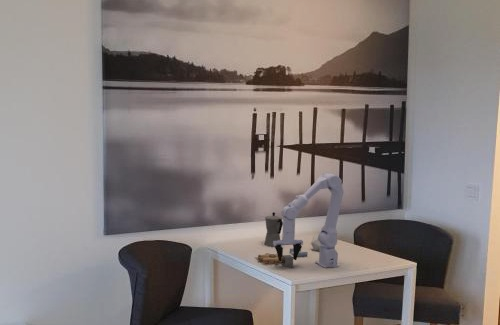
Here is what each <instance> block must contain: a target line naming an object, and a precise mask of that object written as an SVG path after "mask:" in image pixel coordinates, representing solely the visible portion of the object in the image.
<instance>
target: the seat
mask: <svg viewBox="0 0 500 325" xmlns="http://www.w3.org/2000/svg"><path fill="white" fill-rule="evenodd" d="M290 254H291V256H293V254H294V249H293V247H292V248H289V255H290ZM308 255H309V254H308V252H307V251H302V248H301V249H300V251H299V253H298V256H297V258H307V257H308Z"/></svg>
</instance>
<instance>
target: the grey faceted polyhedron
mask: <svg viewBox="0 0 500 325" xmlns="http://www.w3.org/2000/svg"><path fill="white" fill-rule="evenodd" d="M318 235H319V234H317V235H316V234H315V235H313V238H312V240H311V243H310V245H311V247H312V248H313V251H315V252H316V251H318V252H320V242H319V240H318Z"/></svg>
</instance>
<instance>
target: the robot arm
mask: <svg viewBox="0 0 500 325" xmlns="http://www.w3.org/2000/svg"><path fill="white" fill-rule="evenodd" d="M342 183H343V180H342V179H341V178H340V176H339V175H337V174H332V173H330V172H324V173H323V174H321V175H320V176H318V177H317V179H316V181H315V182H314V183H313V184H312V185H310V187H309V188H308V189H307V190H306V191H305V192H304V193H303V194H299V195H295V197H294V200H292V201H291V202H289V203H288V204H287V205H285V206H284V207H283V208H282V210H281V212H280V213H281V215H282V222H283V225H282V238H281V239H280V240H278V241H273V245H274V246H275V247H274V249H275V251H276V254H278V260H279V261H281V260H282V250H283V251H284V247H283V246H291V245H292V246H293V247H292V248H293V249H294V254H293V255H292V257H293V261H294V260H295V261H297V259H298V257H297V256H298V253H299V251H300V249H301V250H302V249H303V245H304V240H303V239H295V235H296V234H295V233H296V218H298V214H299V213H300V211H302V210H303V209H304V208H305V207H306V206H307V205H308V204H309V200H310V199H311V198H313V197H314V196H315V195H316V194H317V193H318V192H319V191H321V190H324V189H325V190H326V189H328V190H329V192H330V193H331V195H330V200H329V204H328V210H327V212H326V213H327V214H326V217H325V222H324V225H323V226H322V227H321V230H320V232H318V234H317V235H318V240H319V242H320V251H318V252H319V254H318V255H319V256H318V257H319V258H318V260H317V261H315V264H317V265H318V266H321V267H323V268H324V269H325V268H339V267H340V265H339V264H338V256H339V254H338V251H337V250H336V245H338V231H337V228H336V227H337V223H338V218H339V215H340V214H339V213H340V209H341V204H342V202H343V197H344V189H343V188H344V187H343V184H342Z"/></svg>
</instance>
